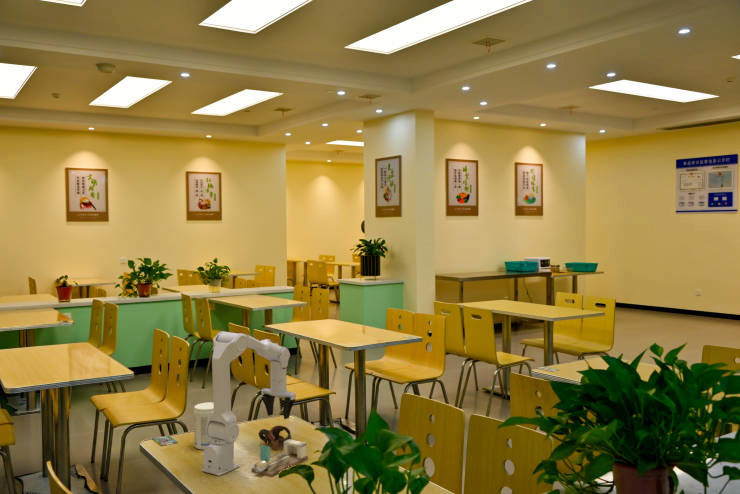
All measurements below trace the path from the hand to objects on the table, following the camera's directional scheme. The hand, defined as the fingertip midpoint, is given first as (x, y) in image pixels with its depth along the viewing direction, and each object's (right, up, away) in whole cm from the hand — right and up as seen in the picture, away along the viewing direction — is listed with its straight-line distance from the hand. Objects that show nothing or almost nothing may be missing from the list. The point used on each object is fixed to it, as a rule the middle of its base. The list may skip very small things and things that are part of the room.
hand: (278, 416), depth 231 cm
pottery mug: (-1, -11, -1) cm, 11 cm away
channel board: (+4, -11, -20) cm, 23 cm away
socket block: (+8, -9, -14) cm, 18 cm away
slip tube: (+1, -10, -25) cm, 27 cm away
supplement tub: (-25, -10, -2) cm, 27 cm away
